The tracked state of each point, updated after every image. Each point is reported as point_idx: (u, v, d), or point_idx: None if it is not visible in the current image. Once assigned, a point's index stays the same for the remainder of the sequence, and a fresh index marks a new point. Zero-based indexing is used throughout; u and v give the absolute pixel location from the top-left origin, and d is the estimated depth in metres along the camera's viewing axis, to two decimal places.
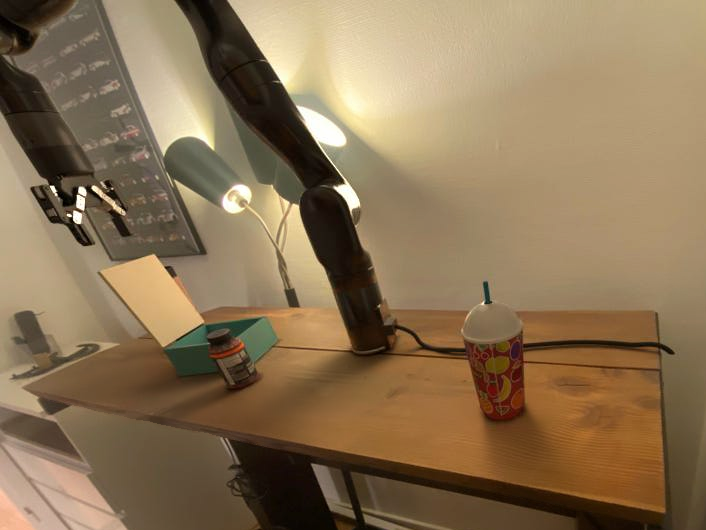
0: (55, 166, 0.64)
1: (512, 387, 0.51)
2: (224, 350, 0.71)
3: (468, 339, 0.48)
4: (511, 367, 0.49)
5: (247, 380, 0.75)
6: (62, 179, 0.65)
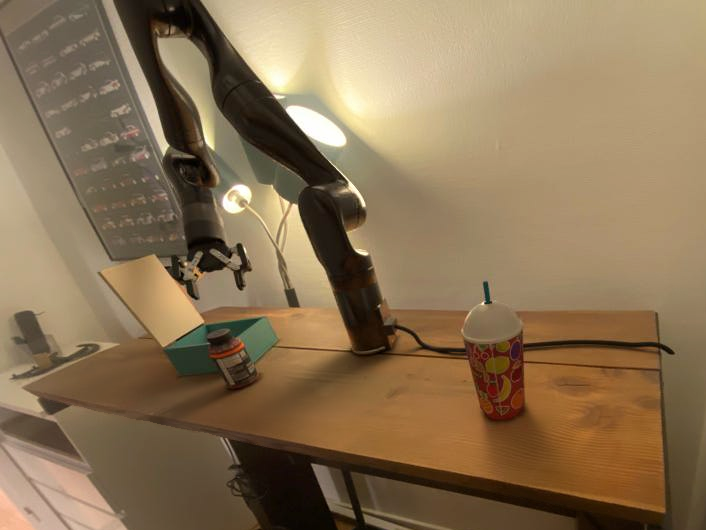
0: (186, 240, 0.79)
1: (512, 387, 0.51)
2: (224, 350, 0.71)
3: (468, 339, 0.48)
4: (511, 367, 0.49)
5: (247, 380, 0.75)
6: (191, 249, 0.80)
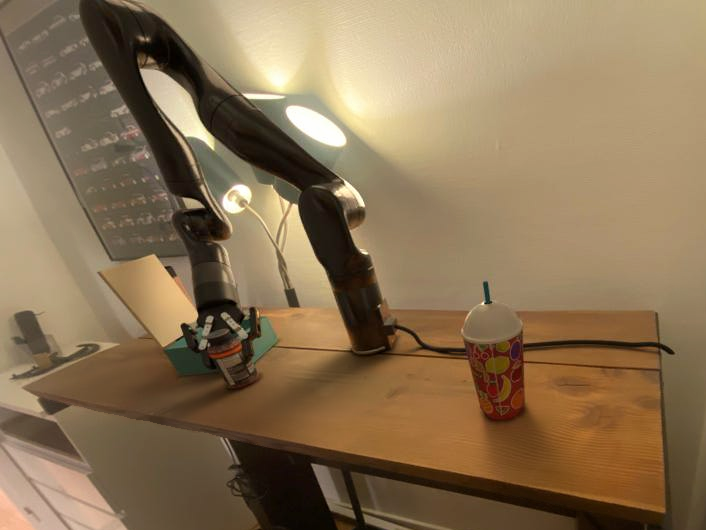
0: (195, 303, 0.74)
1: (512, 387, 0.51)
2: (224, 350, 0.70)
3: (468, 339, 0.48)
4: (511, 367, 0.49)
5: (247, 380, 0.75)
6: (201, 313, 0.74)
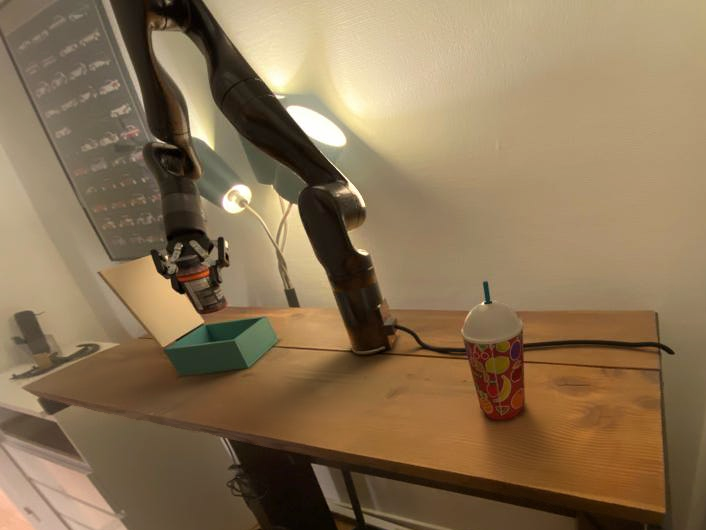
0: (165, 231, 0.77)
1: (512, 387, 0.51)
2: (192, 273, 0.74)
3: (468, 339, 0.48)
4: (511, 367, 0.49)
5: (215, 306, 0.78)
6: (171, 241, 0.77)
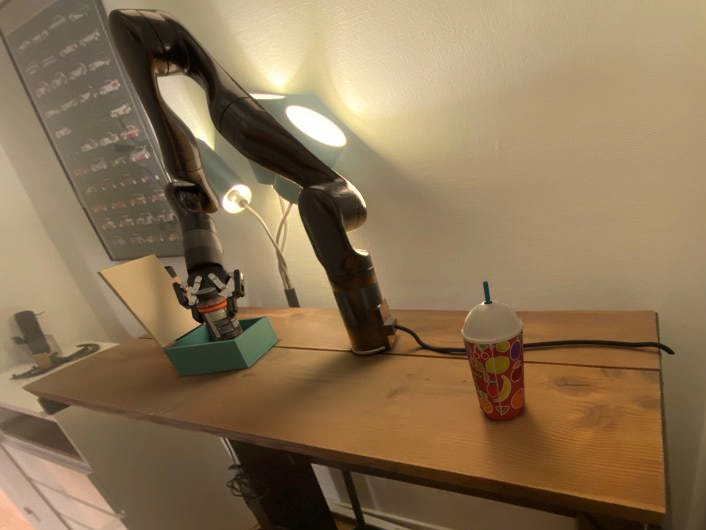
0: (186, 265, 0.83)
1: (512, 387, 0.51)
2: (211, 305, 0.80)
3: (468, 339, 0.48)
4: (511, 367, 0.49)
5: (232, 334, 0.84)
6: (191, 274, 0.84)
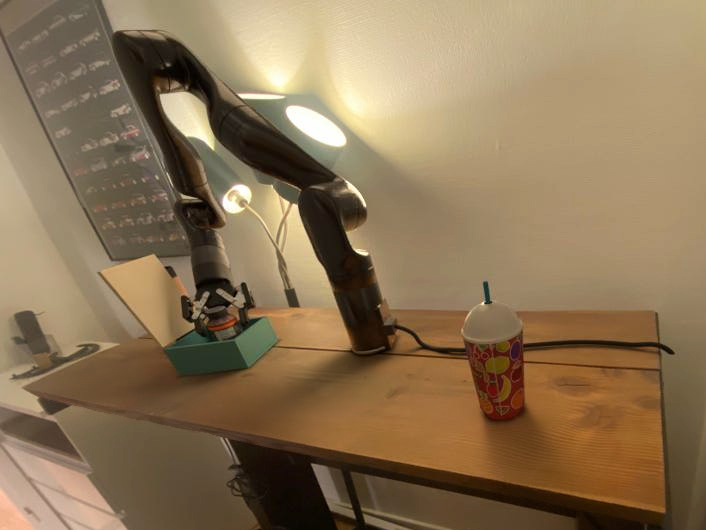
0: (194, 281, 0.85)
1: (512, 387, 0.51)
2: (221, 323, 0.82)
3: (468, 339, 0.48)
4: (511, 367, 0.49)
5: None
6: (199, 289, 0.85)
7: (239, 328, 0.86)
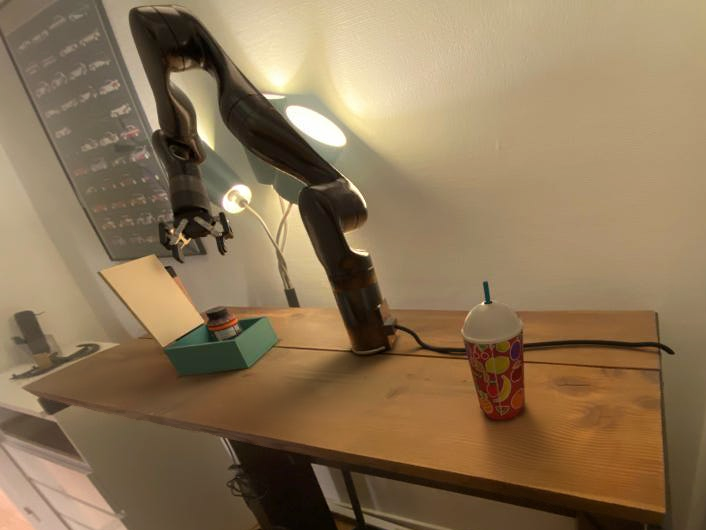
0: (172, 209, 0.86)
1: (512, 387, 0.51)
2: (221, 323, 0.82)
3: (468, 339, 0.48)
4: (511, 367, 0.49)
5: None
6: (177, 217, 0.86)
7: (239, 328, 0.86)
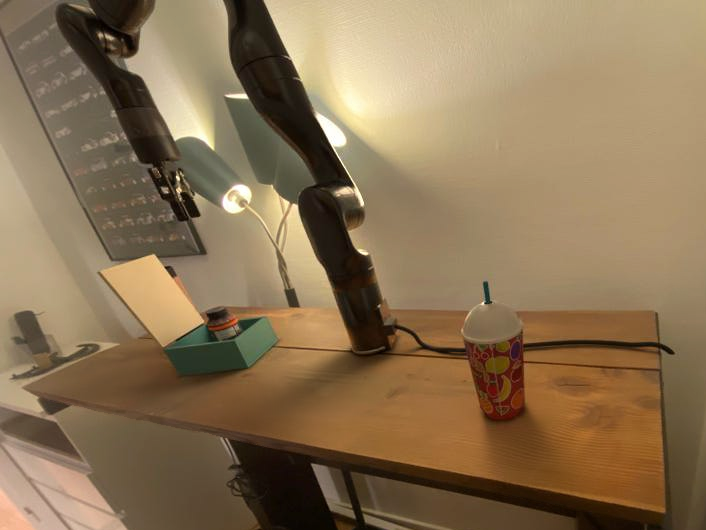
0: (163, 152, 0.76)
1: (512, 387, 0.51)
2: (221, 323, 0.82)
3: (468, 339, 0.48)
4: (511, 367, 0.49)
5: None
6: (165, 163, 0.77)
7: (239, 328, 0.86)
